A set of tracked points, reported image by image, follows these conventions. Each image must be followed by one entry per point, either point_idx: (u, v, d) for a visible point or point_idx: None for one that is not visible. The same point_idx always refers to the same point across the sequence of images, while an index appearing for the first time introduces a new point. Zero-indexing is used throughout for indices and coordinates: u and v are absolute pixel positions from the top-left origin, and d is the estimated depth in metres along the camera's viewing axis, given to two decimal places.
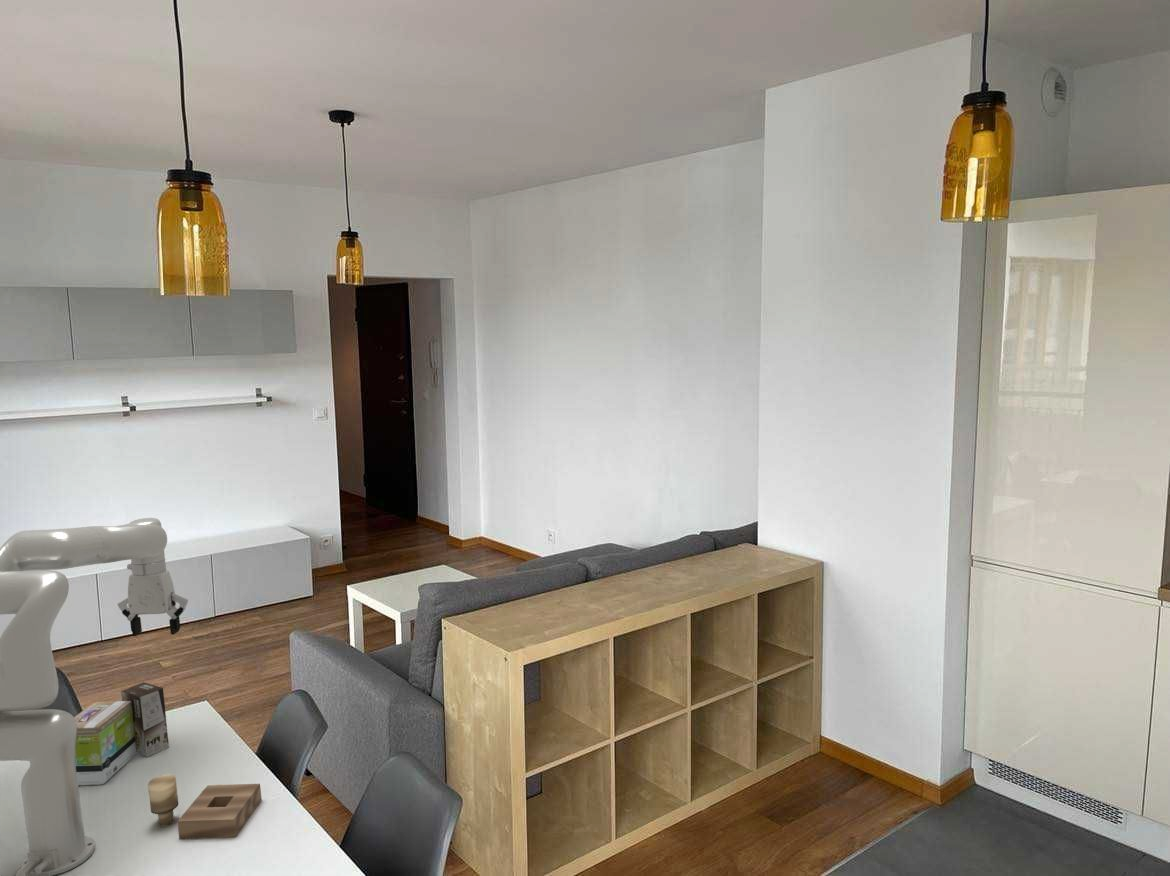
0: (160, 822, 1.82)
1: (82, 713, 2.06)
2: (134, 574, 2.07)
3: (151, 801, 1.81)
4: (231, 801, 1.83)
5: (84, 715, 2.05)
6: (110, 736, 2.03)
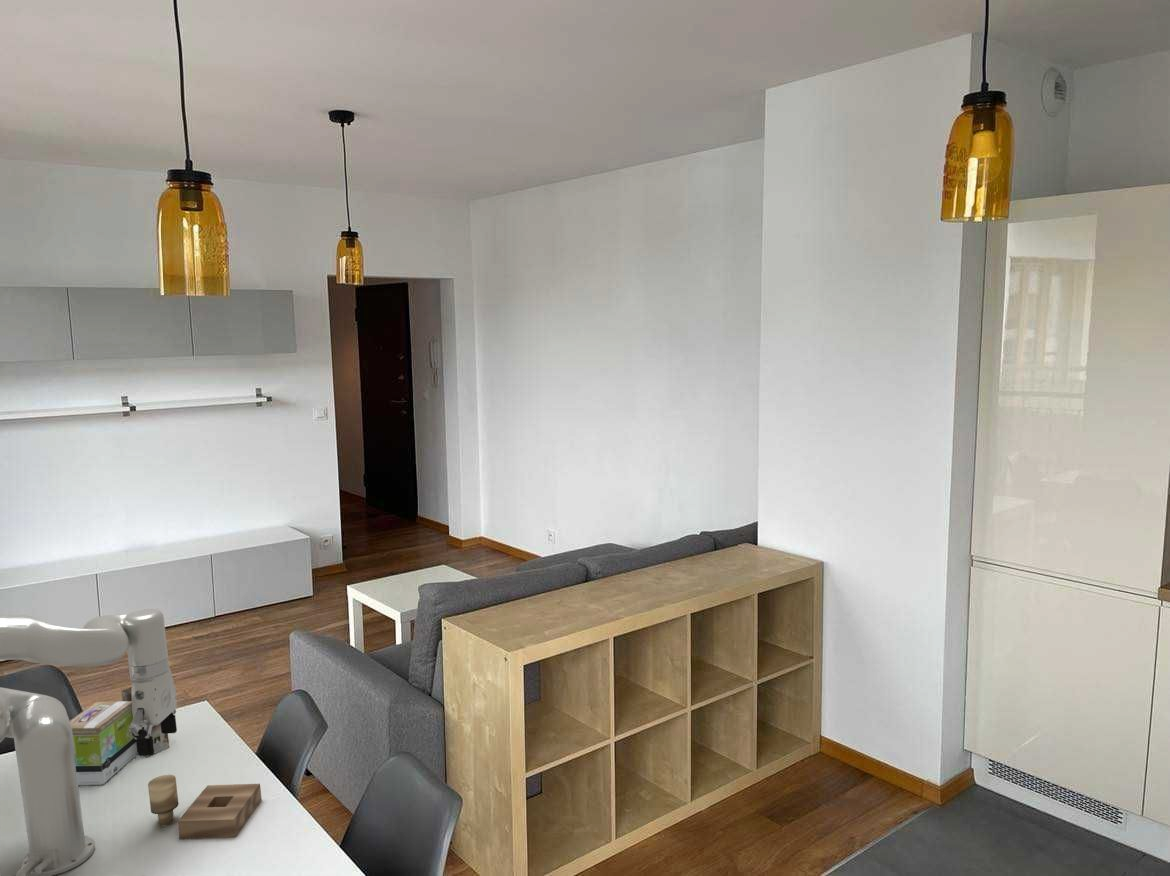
0: (160, 822, 1.82)
1: (83, 713, 2.06)
2: (159, 674, 1.77)
3: (151, 801, 1.81)
4: (231, 801, 1.83)
5: (85, 715, 2.05)
6: (110, 736, 2.03)
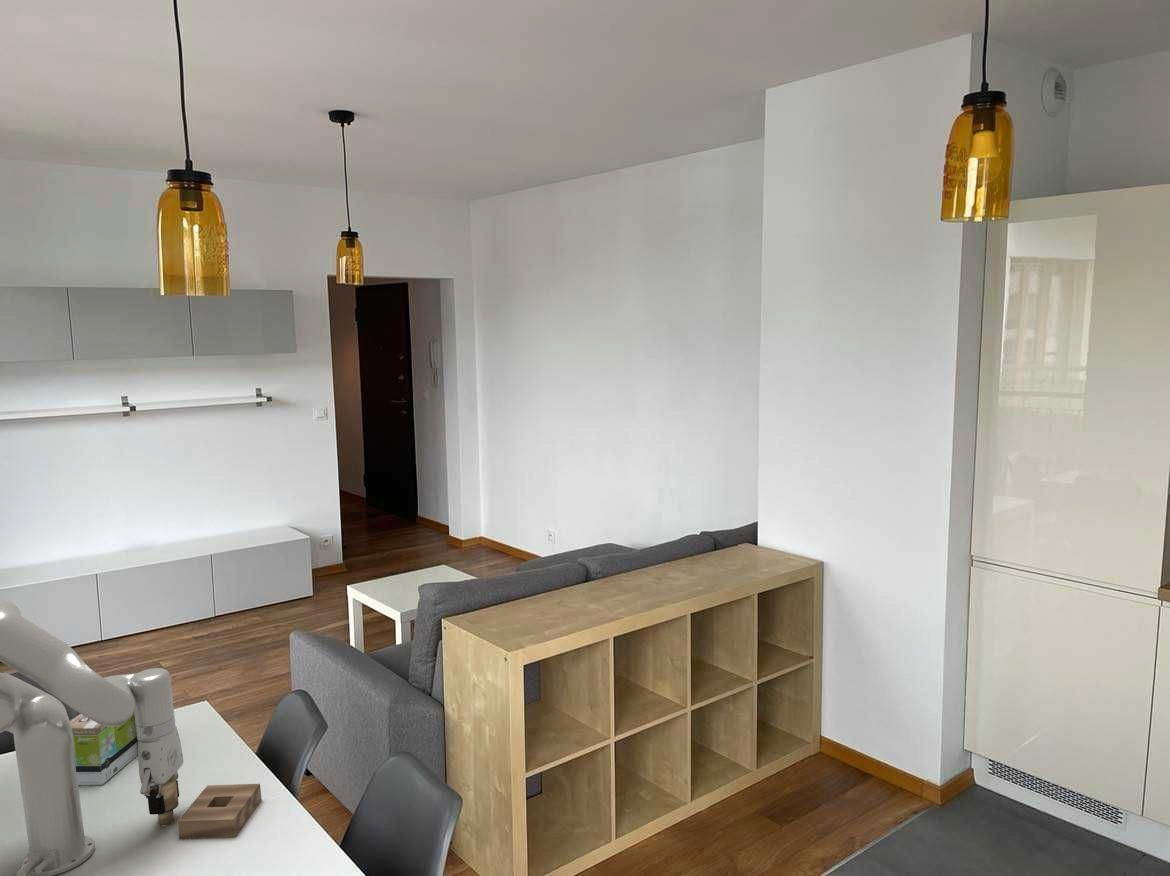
0: (160, 822, 1.82)
1: None
2: (165, 734, 1.79)
3: None
4: (231, 801, 1.83)
5: None
6: (110, 737, 2.03)
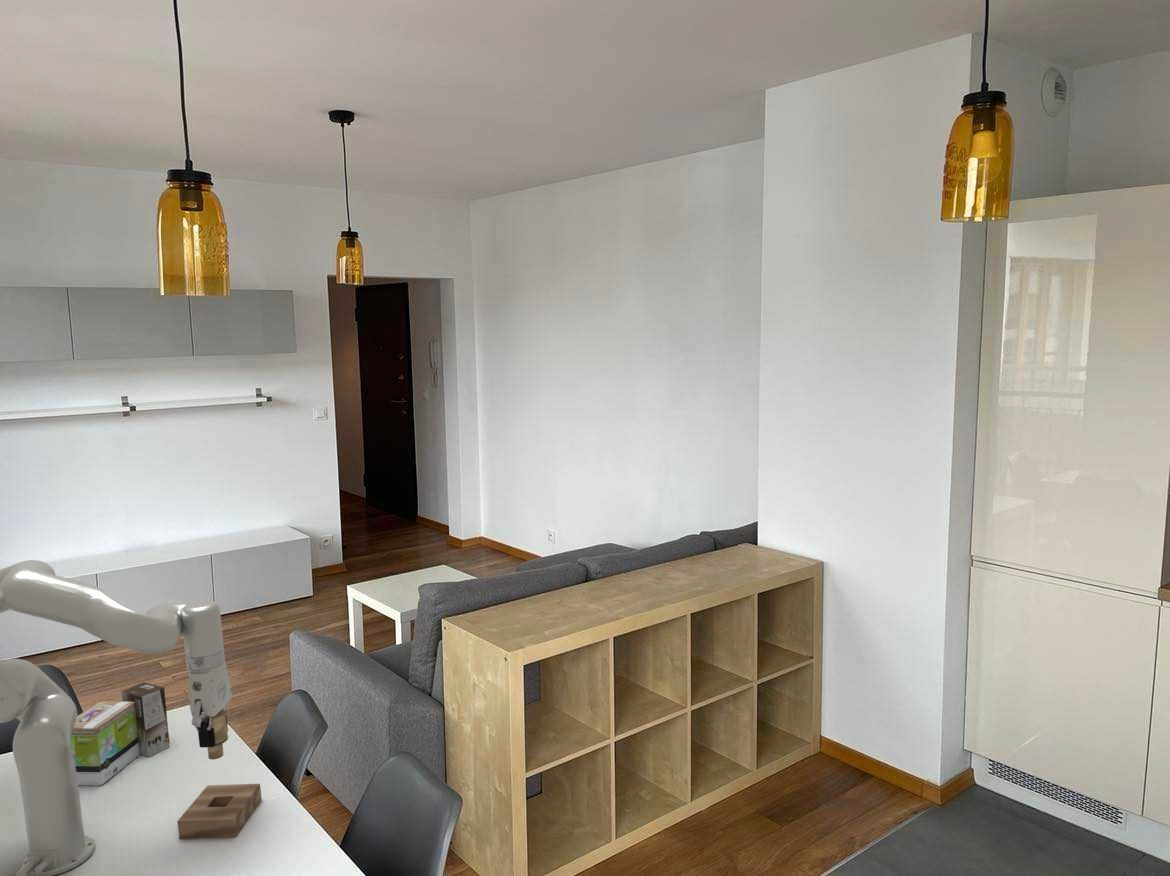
0: (210, 756, 1.81)
1: (85, 712, 2.06)
2: (215, 666, 1.77)
3: None
4: (231, 801, 1.83)
5: (86, 715, 2.05)
6: (110, 737, 2.03)
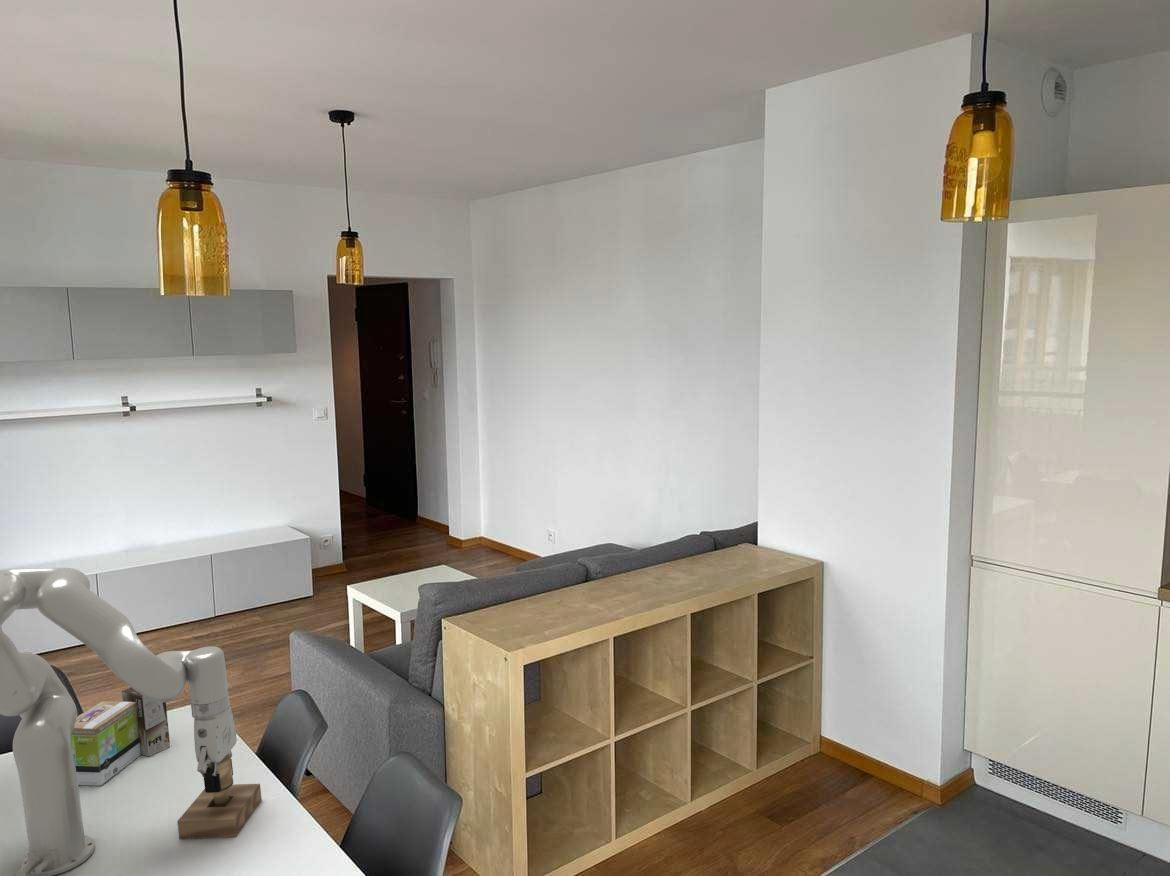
0: (216, 800, 1.82)
1: (86, 712, 2.07)
2: (220, 712, 1.78)
3: None
4: (231, 801, 1.83)
5: (87, 715, 2.05)
6: (110, 737, 2.02)
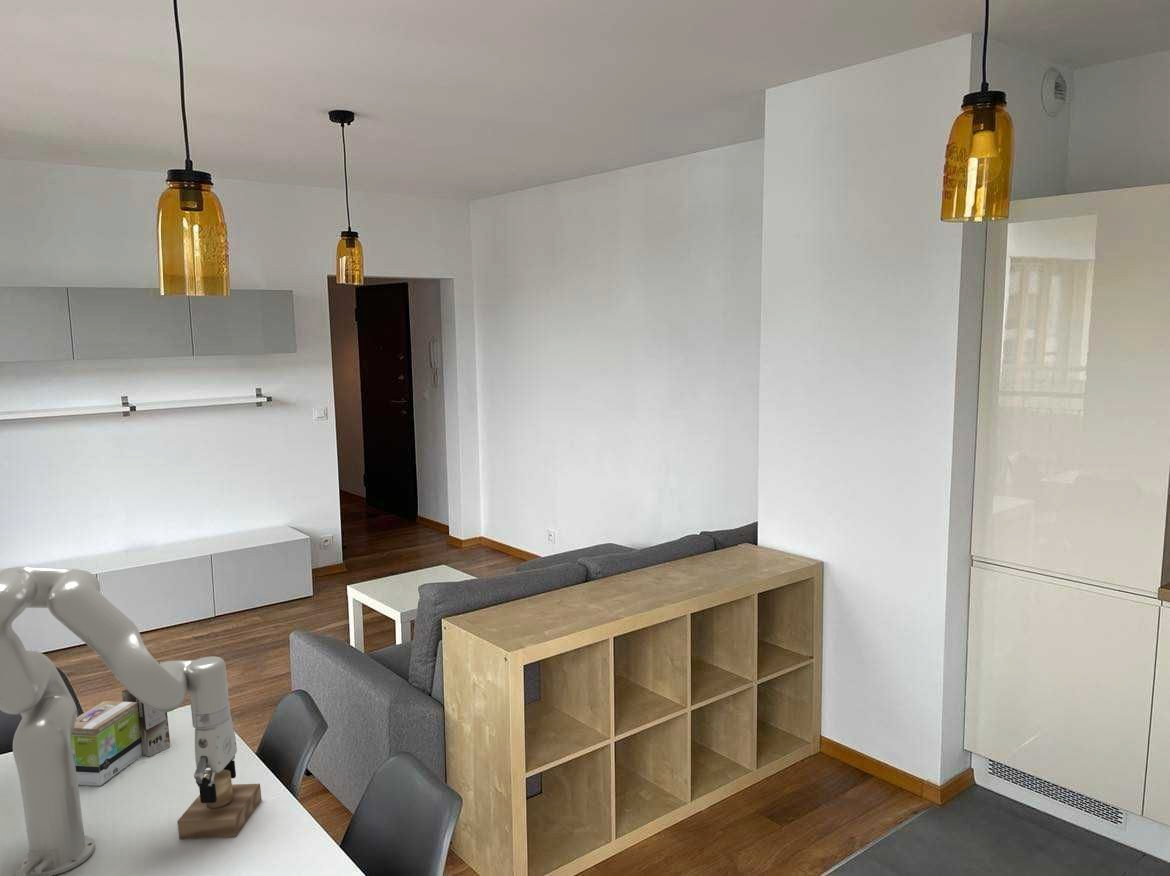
0: None
1: (87, 712, 2.07)
2: (221, 722, 1.79)
3: None
4: None
5: (88, 715, 2.05)
6: (110, 738, 2.02)
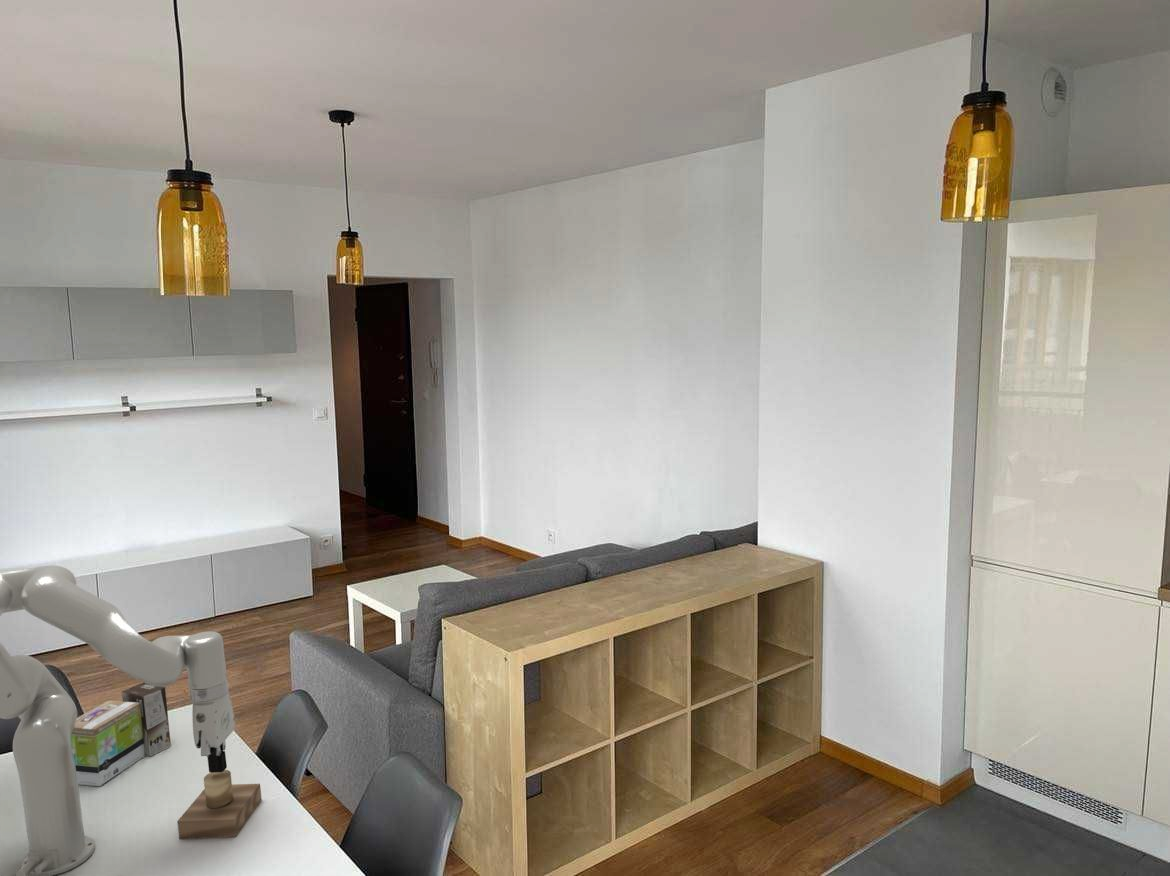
0: None
1: (90, 711, 2.07)
2: (219, 697, 1.78)
3: (207, 796, 1.81)
4: None
5: (90, 714, 2.05)
6: (110, 738, 2.02)
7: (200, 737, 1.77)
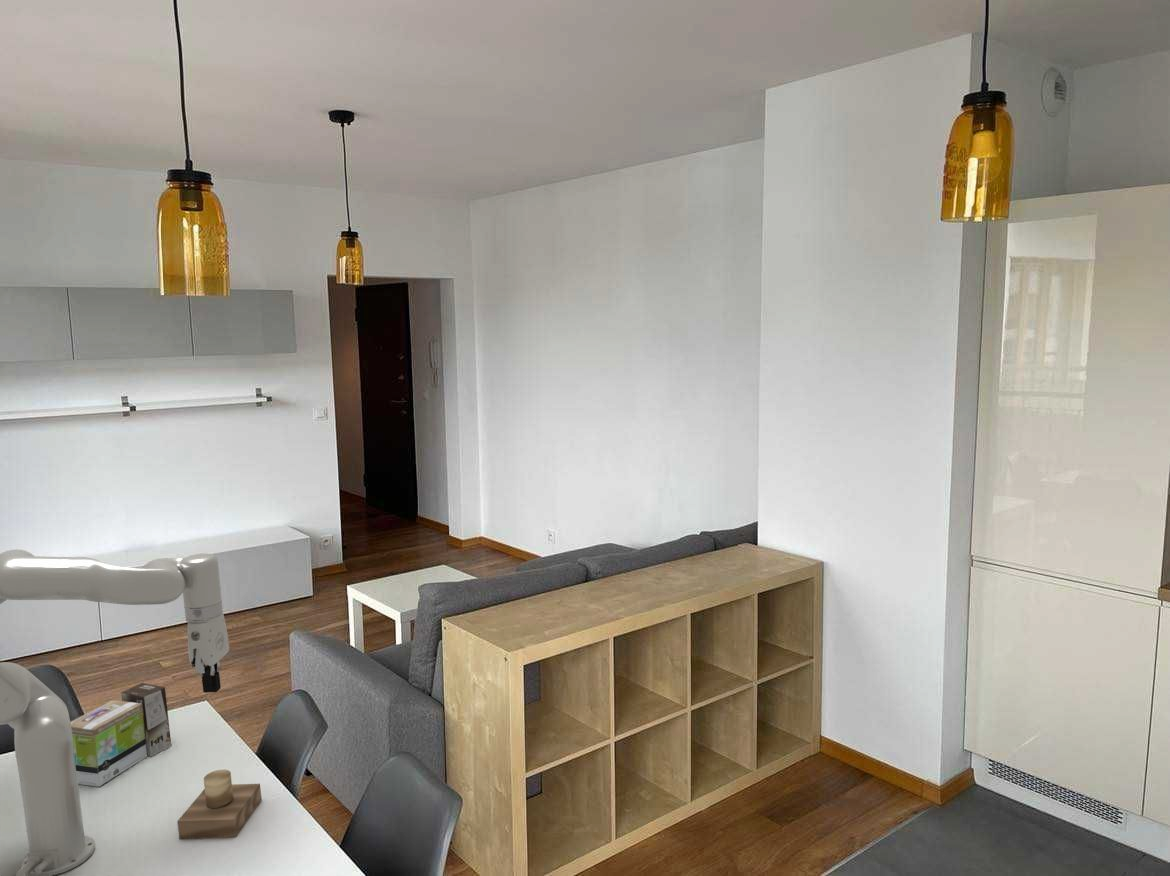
0: None
1: (92, 711, 2.07)
2: (214, 616, 1.81)
3: (207, 796, 1.81)
4: None
5: (92, 714, 2.05)
6: (110, 739, 2.02)
7: (195, 655, 1.80)
